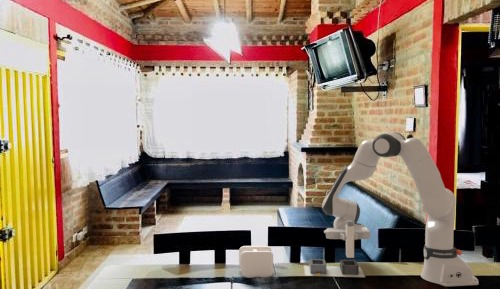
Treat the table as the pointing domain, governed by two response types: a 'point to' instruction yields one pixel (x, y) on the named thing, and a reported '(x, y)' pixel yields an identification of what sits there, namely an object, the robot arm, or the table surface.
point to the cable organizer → (256, 261)
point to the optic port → (317, 266)
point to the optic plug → (349, 239)
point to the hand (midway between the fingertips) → (350, 238)
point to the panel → (340, 270)
